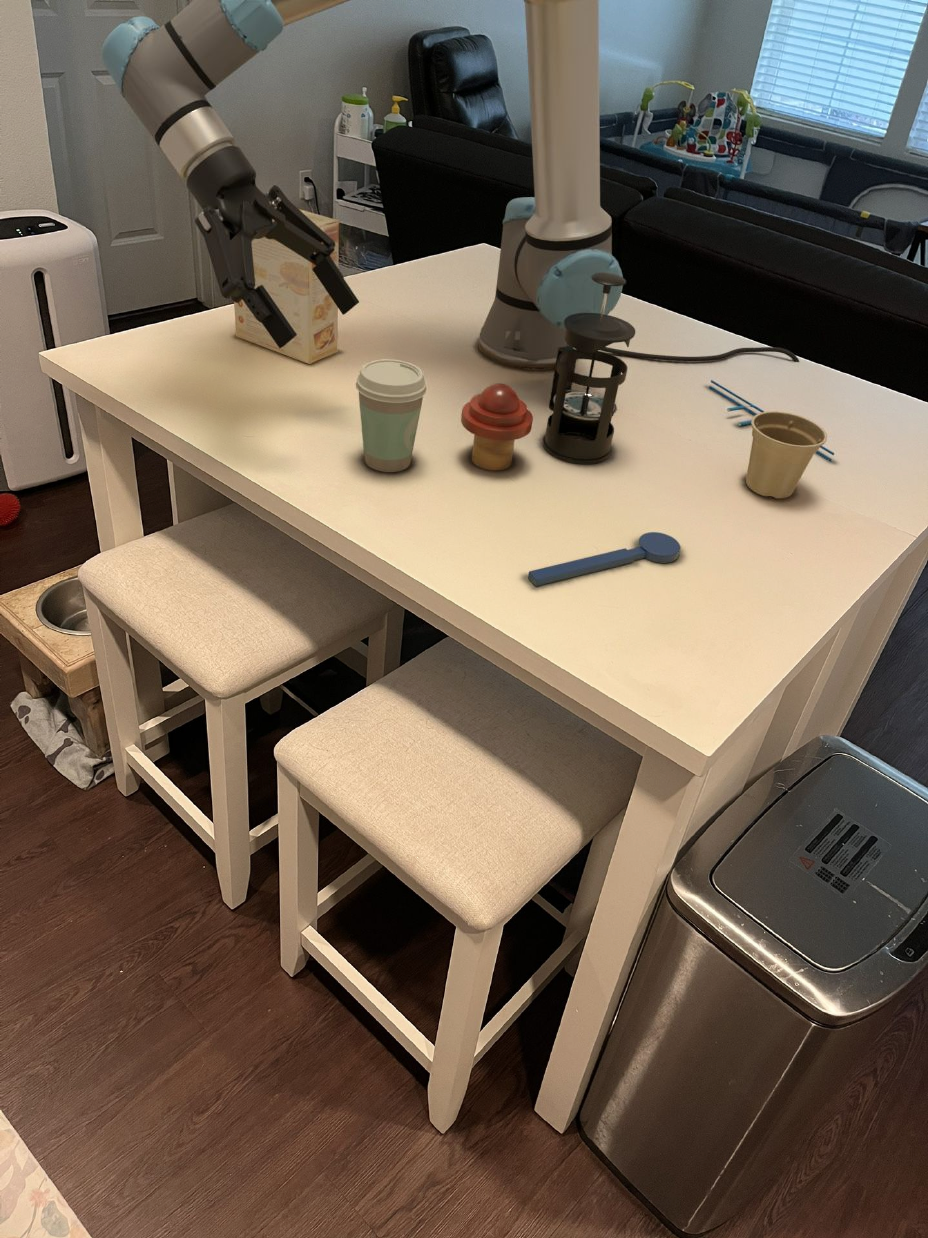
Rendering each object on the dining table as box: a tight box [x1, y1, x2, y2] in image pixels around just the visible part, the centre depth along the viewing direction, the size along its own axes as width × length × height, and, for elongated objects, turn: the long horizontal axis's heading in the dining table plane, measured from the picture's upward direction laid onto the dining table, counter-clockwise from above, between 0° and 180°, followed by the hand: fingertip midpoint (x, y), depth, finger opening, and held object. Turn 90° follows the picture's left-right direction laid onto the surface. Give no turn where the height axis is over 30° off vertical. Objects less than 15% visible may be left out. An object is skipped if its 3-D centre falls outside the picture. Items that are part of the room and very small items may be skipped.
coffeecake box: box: [233, 208, 340, 365], centre depth 136 cm, size 15×7×20 cm, turn 58°
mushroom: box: [460, 383, 534, 471], centre depth 117 cm, size 9×9×10 cm
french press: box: [542, 273, 636, 465], centre depth 118 cm, size 12×9×23 cm
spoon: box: [527, 531, 681, 587], centre depth 103 cm, size 20×5×1 cm, turn 118°
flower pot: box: [745, 410, 828, 499], centre depth 119 cm, size 9×9×9 cm
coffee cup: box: [355, 358, 428, 473], centre depth 114 cm, size 9×8×12 cm
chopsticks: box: [708, 379, 835, 462], centre depth 136 cm, size 1×25×5 cm
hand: (321, 324), depth 111 cm, fingers open, 13 cm apart
